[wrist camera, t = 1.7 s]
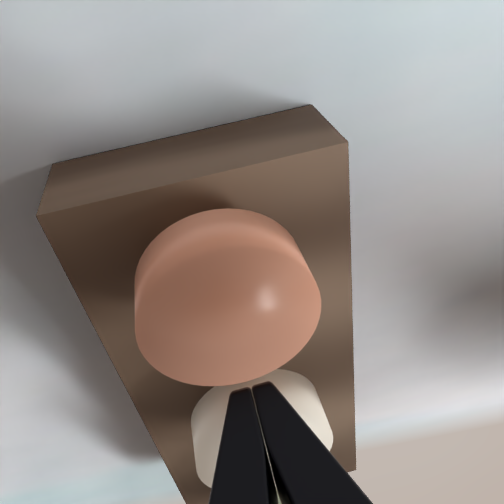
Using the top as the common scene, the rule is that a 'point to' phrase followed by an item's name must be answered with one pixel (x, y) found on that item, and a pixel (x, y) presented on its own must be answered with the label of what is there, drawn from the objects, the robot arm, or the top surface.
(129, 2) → the top surface
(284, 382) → the button cream
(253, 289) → the button terracotta
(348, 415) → the console
